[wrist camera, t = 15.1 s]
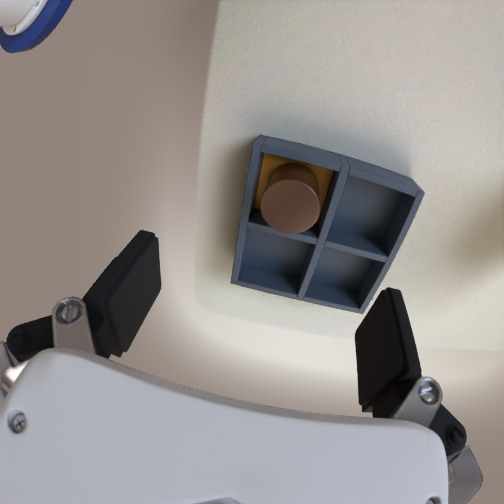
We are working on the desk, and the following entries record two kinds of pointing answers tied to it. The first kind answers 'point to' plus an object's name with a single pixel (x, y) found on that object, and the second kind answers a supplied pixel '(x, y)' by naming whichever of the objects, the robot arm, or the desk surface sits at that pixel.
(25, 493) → the robot arm
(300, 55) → the desk surface
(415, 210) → the grid
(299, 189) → the cylinder
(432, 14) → the desk surface
